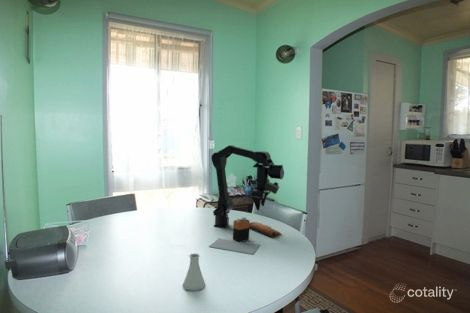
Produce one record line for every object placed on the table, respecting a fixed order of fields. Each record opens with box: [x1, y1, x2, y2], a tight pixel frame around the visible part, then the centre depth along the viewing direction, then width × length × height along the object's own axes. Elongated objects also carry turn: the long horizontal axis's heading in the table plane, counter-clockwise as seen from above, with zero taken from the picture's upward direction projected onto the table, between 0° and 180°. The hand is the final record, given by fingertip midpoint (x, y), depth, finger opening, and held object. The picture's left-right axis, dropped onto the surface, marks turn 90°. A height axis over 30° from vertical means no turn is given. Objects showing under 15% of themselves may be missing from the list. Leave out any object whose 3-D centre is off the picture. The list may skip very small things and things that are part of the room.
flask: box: [182, 253, 206, 292], centre depth 92 cm, size 7×7×10 cm
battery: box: [232, 217, 251, 242], centre depth 134 cm, size 4×7×10 cm, turn 133°
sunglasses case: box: [249, 221, 283, 239], centre depth 147 cm, size 18×7×7 cm, turn 39°
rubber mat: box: [208, 237, 261, 256], centre depth 126 cm, size 20×11×1 cm, turn 69°
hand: (260, 207), depth 144 cm, fingers open, 9 cm apart
